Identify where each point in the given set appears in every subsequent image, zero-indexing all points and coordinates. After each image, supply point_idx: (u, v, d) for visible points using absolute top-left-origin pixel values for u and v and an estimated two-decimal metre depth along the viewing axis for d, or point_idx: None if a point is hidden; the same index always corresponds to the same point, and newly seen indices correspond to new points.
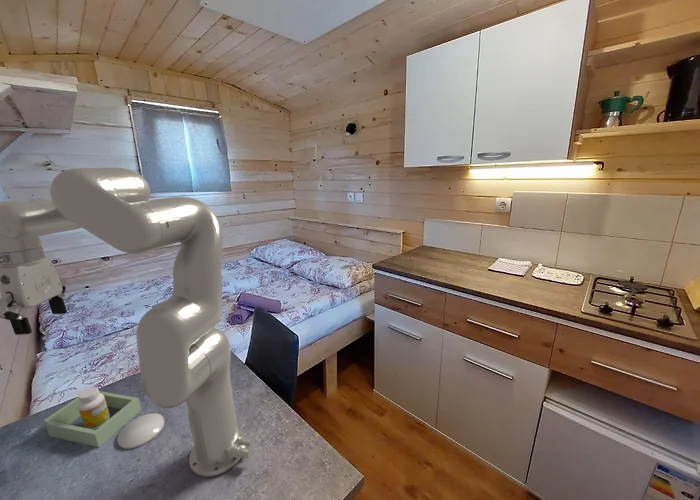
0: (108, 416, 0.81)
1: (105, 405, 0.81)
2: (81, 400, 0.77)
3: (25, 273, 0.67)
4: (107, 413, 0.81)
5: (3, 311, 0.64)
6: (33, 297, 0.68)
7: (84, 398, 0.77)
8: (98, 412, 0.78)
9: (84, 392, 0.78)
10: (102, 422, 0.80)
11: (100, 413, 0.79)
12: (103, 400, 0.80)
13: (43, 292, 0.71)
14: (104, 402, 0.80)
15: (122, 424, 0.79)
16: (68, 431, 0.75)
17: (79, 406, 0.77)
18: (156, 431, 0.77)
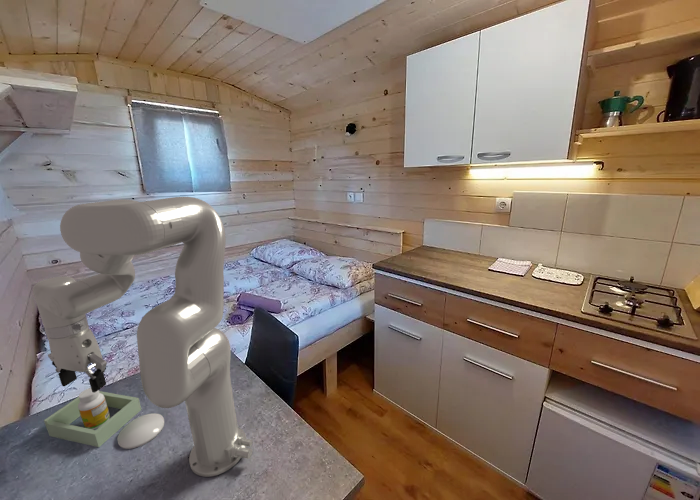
0: (108, 416, 0.81)
1: (105, 405, 0.81)
2: (81, 400, 0.77)
3: None
4: (107, 413, 0.81)
5: None
6: None
7: (84, 398, 0.77)
8: (98, 412, 0.78)
9: (84, 392, 0.78)
10: (102, 422, 0.80)
11: (100, 413, 0.79)
12: (103, 400, 0.80)
13: None
14: (104, 402, 0.80)
15: (122, 424, 0.79)
16: (68, 431, 0.75)
17: (79, 406, 0.77)
18: (156, 431, 0.77)
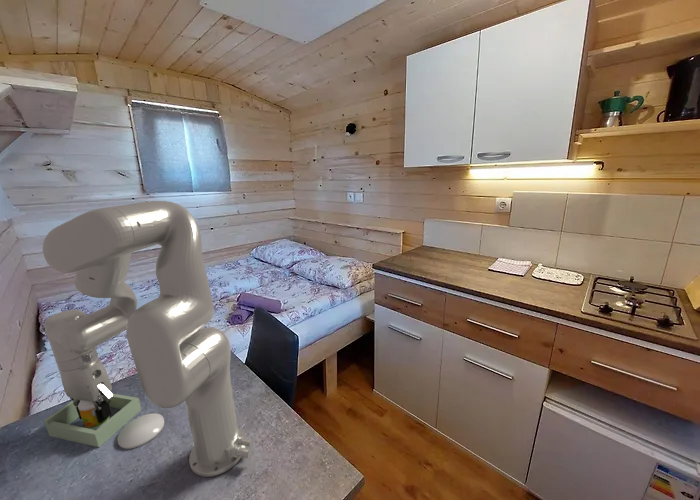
0: None
1: None
2: (81, 400, 0.77)
3: None
4: None
5: None
6: None
7: None
8: None
9: None
10: (102, 422, 0.80)
11: None
12: None
13: None
14: None
15: (122, 424, 0.79)
16: (68, 431, 0.75)
17: (79, 406, 0.77)
18: (156, 431, 0.77)
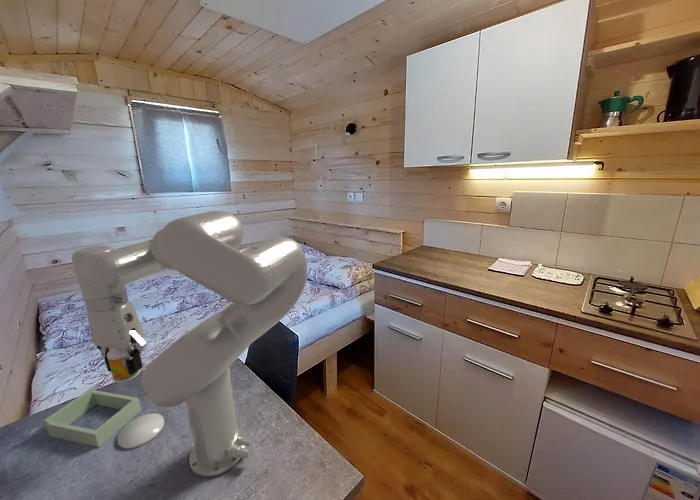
0: (139, 369, 0.74)
1: None
2: (111, 348, 0.69)
3: None
4: None
5: None
6: None
7: None
8: None
9: None
10: (133, 374, 0.72)
11: None
12: None
13: None
14: None
15: (122, 424, 0.79)
16: (68, 431, 0.75)
17: (108, 355, 0.69)
18: (156, 431, 0.77)
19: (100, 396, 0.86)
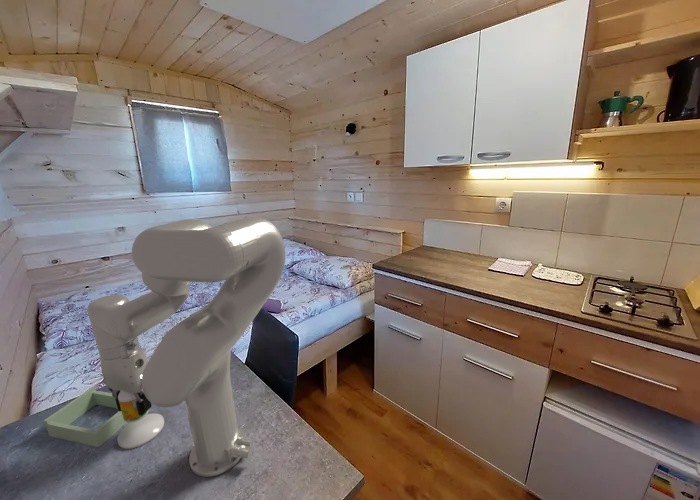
0: None
1: None
2: (122, 391, 0.72)
3: None
4: None
5: None
6: None
7: None
8: None
9: None
10: None
11: None
12: None
13: None
14: None
15: (122, 424, 0.79)
16: (68, 431, 0.75)
17: (119, 397, 0.72)
18: (156, 431, 0.77)
19: (100, 396, 0.86)
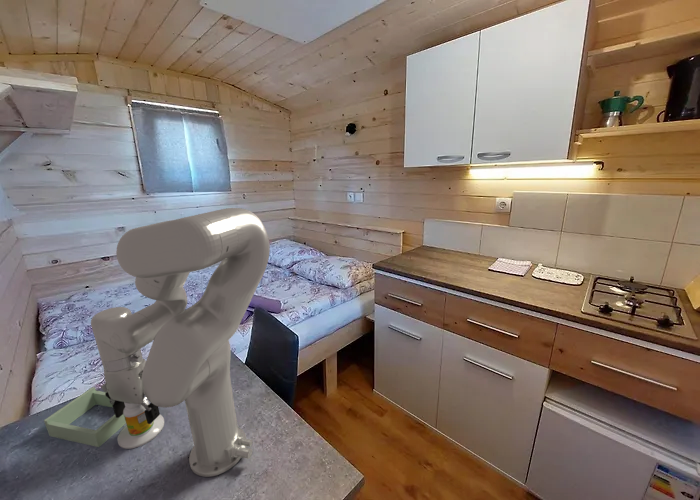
0: (152, 422, 0.78)
1: None
2: (127, 406, 0.73)
3: None
4: None
5: None
6: None
7: (130, 404, 0.73)
8: (144, 418, 0.75)
9: None
10: (147, 429, 0.76)
11: (145, 419, 0.75)
12: None
13: None
14: None
15: (122, 424, 0.79)
16: (68, 431, 0.75)
17: (125, 412, 0.73)
18: (156, 431, 0.77)
19: (100, 396, 0.86)
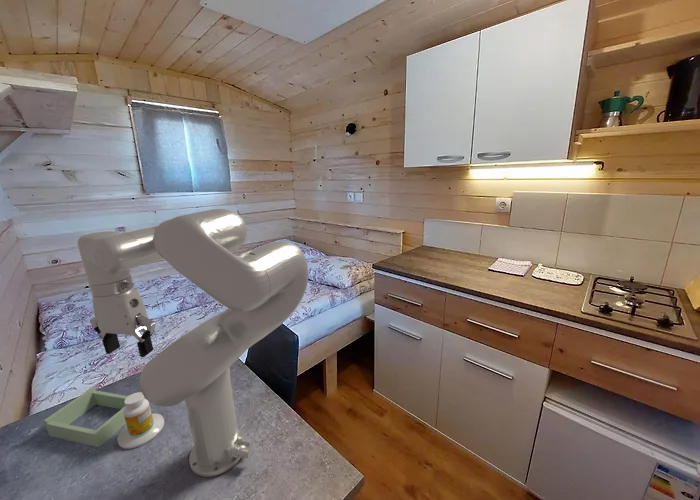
0: (152, 422, 0.78)
1: (150, 411, 0.77)
2: (127, 406, 0.73)
3: None
4: (152, 419, 0.78)
5: None
6: None
7: (131, 404, 0.73)
8: (144, 418, 0.75)
9: (129, 398, 0.75)
10: (147, 429, 0.76)
11: (145, 419, 0.75)
12: (148, 406, 0.76)
13: None
14: (149, 408, 0.77)
15: (122, 424, 0.79)
16: (68, 431, 0.75)
17: (125, 412, 0.73)
18: (156, 431, 0.77)
19: (100, 396, 0.86)
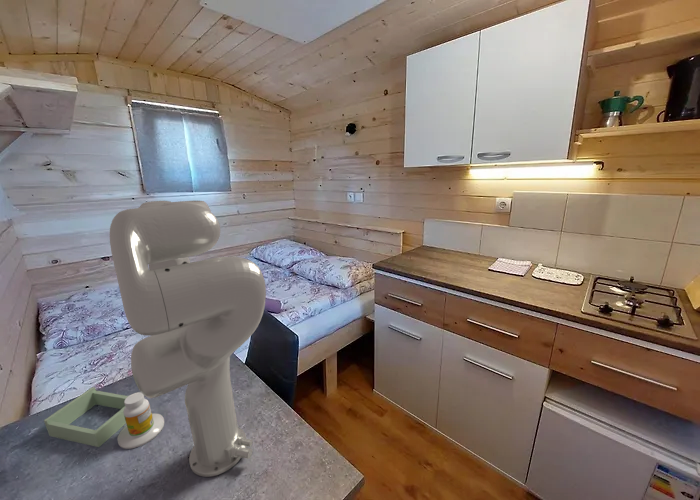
0: (152, 422, 0.78)
1: (150, 411, 0.77)
2: (127, 406, 0.73)
3: None
4: (152, 419, 0.78)
5: None
6: None
7: (131, 404, 0.73)
8: (144, 418, 0.75)
9: (129, 398, 0.75)
10: (147, 429, 0.76)
11: (145, 419, 0.75)
12: (148, 406, 0.76)
13: None
14: (149, 408, 0.77)
15: (122, 424, 0.79)
16: (68, 431, 0.75)
17: (125, 412, 0.73)
18: (156, 431, 0.77)
19: (100, 396, 0.86)
